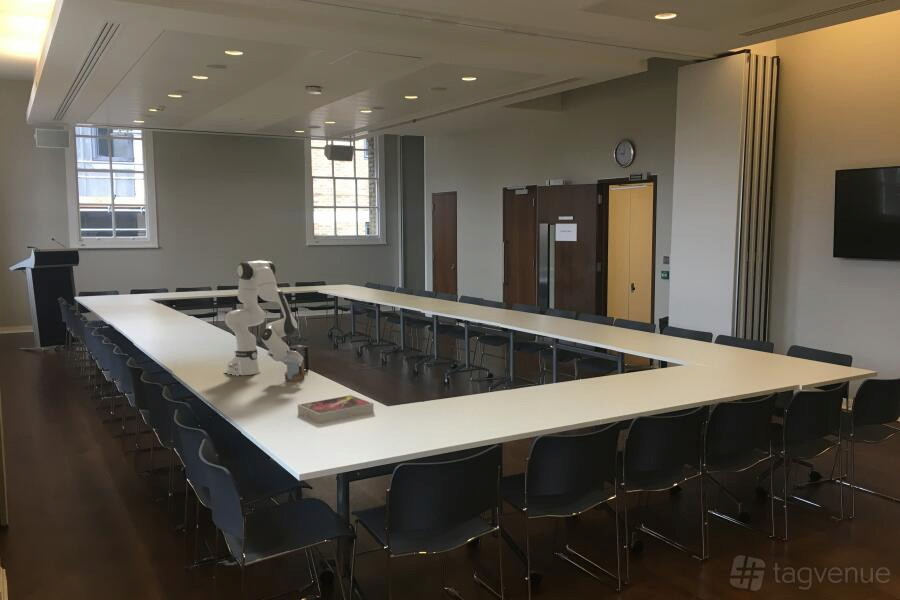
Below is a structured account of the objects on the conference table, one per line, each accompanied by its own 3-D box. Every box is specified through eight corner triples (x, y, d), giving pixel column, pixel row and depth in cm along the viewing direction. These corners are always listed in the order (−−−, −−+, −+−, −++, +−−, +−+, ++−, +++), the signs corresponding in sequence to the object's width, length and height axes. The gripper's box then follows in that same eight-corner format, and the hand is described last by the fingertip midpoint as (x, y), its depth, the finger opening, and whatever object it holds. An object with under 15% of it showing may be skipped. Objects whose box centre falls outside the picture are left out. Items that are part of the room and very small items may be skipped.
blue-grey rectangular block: (287, 379, 408) (286, 358, 406) (294, 376, 413) (293, 356, 412) (292, 379, 406) (291, 358, 405) (299, 377, 411) (298, 356, 410)
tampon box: (309, 370, 436) (308, 346, 435) (294, 372, 431) (293, 348, 429) (302, 367, 445) (301, 344, 444) (287, 369, 440) (286, 345, 438)
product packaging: (298, 415, 336) (297, 404, 336) (351, 404, 353) (350, 395, 352) (319, 424, 319) (318, 414, 318) (373, 413, 336) (373, 403, 335)
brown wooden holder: (285, 380, 408) (284, 363, 407) (295, 377, 416) (294, 360, 415) (293, 381, 405) (293, 364, 404) (304, 378, 413) (303, 361, 412)
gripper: (298, 347, 396) (310, 361, 406) (270, 344, 406) (282, 358, 416) (292, 356, 393) (305, 370, 402) (265, 353, 403) (277, 367, 412)
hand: (293, 364), depth 409 cm, fingers open, 8 cm apart
